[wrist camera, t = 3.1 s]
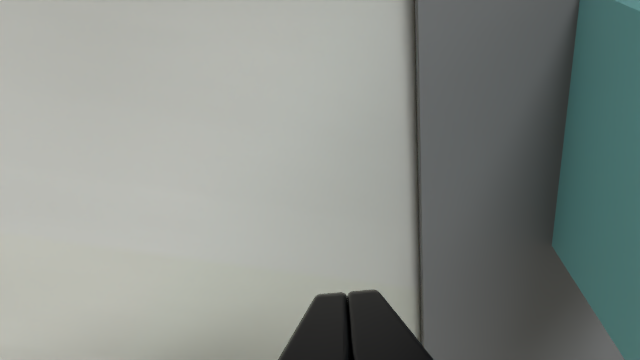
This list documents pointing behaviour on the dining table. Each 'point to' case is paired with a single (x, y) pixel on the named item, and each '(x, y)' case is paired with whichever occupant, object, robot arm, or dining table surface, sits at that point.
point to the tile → (604, 169)
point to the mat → (496, 182)
